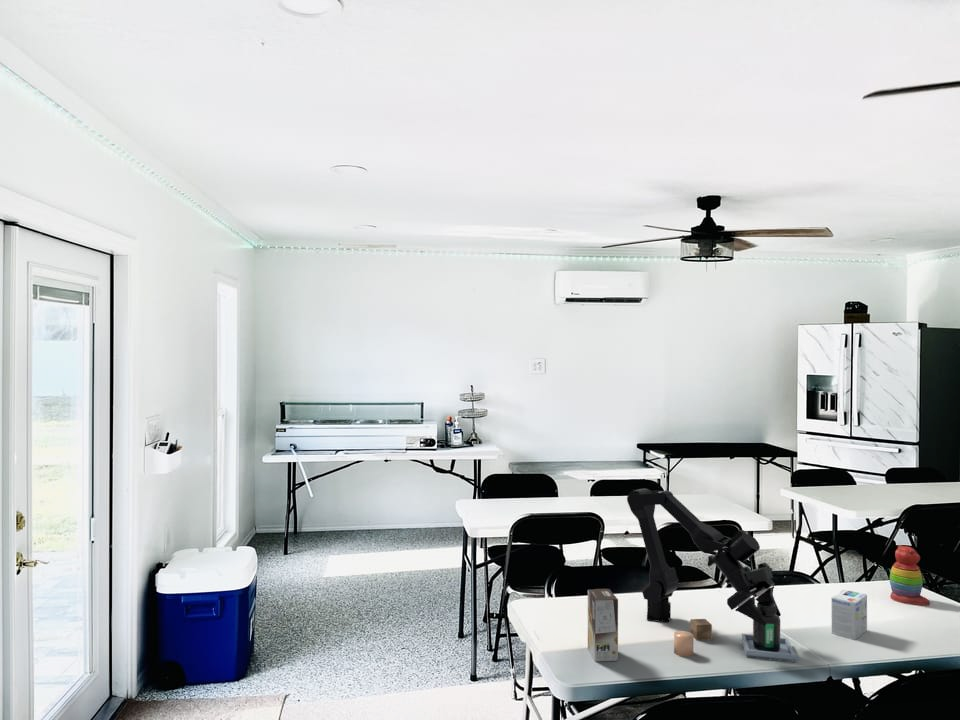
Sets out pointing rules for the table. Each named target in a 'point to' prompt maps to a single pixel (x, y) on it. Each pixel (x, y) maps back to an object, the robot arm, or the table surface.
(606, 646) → the coffee box
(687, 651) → the cylinder block
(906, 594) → the stacking bear
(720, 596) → the table surface
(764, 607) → the supplement bottle
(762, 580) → the robot arm
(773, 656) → the tray
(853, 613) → the light bulb box
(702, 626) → the walnut block
